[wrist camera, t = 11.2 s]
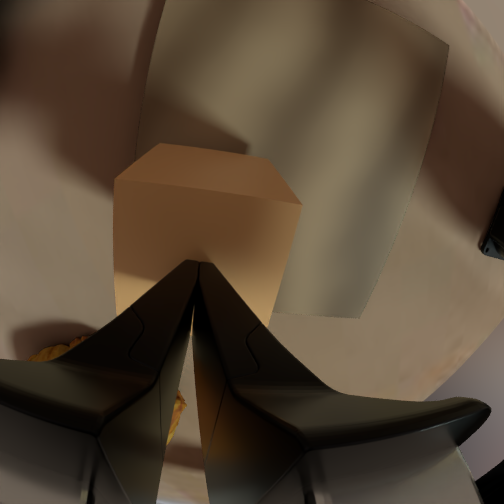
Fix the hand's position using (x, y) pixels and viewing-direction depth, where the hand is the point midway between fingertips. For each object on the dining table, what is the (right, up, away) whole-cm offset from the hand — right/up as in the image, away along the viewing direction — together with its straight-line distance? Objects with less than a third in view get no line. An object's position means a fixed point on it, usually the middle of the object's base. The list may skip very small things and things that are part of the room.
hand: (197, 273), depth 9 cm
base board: (+4, +6, +7) cm, 10 cm away
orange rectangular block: (-1, +3, +6) cm, 6 cm away
